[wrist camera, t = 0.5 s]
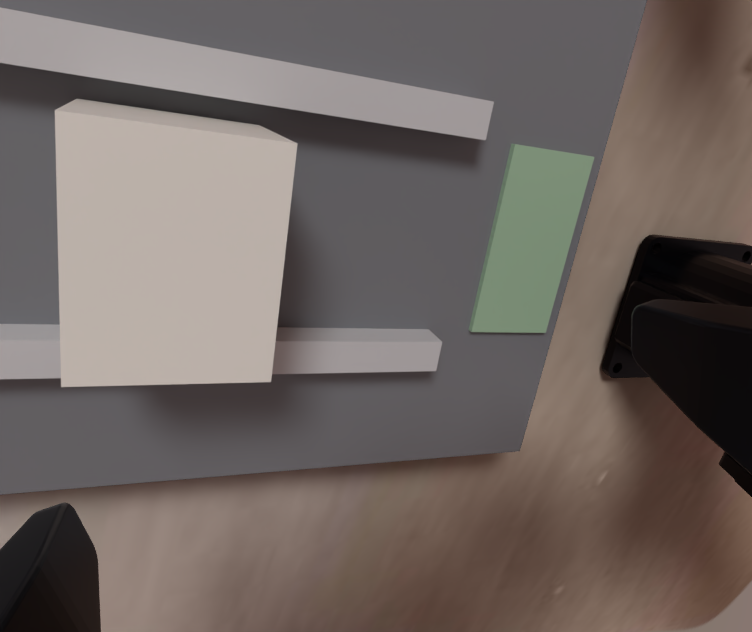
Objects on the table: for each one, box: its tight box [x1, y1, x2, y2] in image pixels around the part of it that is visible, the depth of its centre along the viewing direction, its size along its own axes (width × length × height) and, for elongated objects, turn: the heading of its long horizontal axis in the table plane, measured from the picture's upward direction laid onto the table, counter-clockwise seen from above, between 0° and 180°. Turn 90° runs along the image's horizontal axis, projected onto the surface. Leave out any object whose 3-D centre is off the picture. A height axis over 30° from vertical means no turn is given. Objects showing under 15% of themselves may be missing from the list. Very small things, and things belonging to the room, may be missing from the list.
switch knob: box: [55, 99, 297, 387], centre depth 13 cm, size 4×5×4 cm
